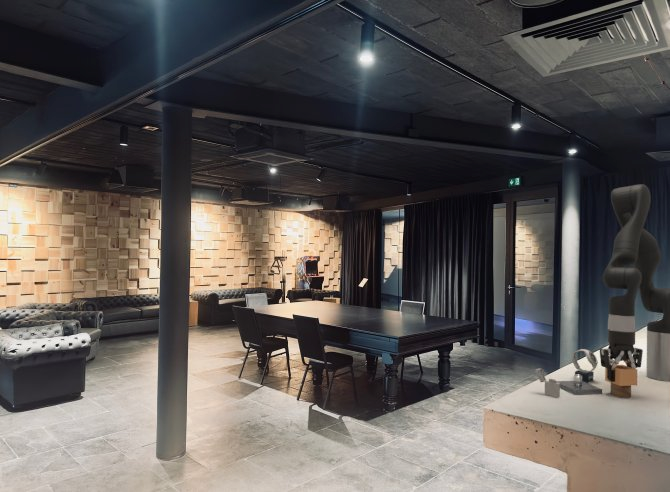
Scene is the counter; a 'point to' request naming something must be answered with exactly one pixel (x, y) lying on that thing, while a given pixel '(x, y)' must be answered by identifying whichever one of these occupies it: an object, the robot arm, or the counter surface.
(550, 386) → the lighter
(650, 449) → the counter surface
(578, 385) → the gray square plate
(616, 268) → the robot arm
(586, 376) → the watch
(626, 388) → the stand
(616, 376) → the orange square tube
